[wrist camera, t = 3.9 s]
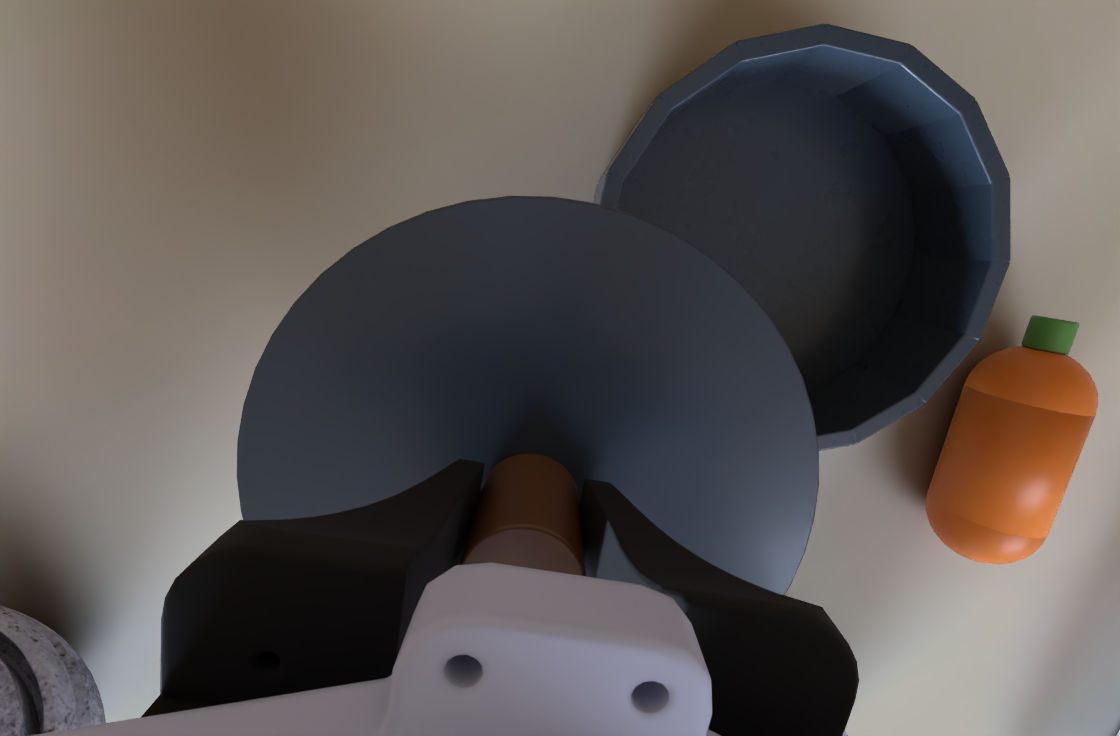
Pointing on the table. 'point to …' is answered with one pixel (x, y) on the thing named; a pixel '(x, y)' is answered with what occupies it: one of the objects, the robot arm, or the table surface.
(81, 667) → the decorative orb
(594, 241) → the lid
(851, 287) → the pan
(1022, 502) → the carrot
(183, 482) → the table surface
